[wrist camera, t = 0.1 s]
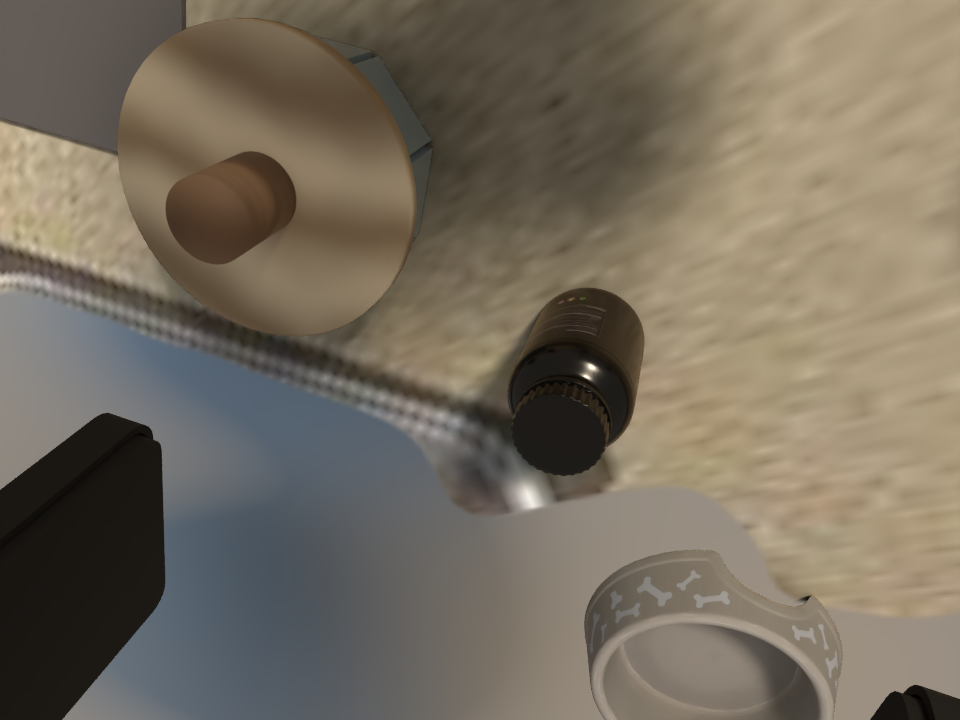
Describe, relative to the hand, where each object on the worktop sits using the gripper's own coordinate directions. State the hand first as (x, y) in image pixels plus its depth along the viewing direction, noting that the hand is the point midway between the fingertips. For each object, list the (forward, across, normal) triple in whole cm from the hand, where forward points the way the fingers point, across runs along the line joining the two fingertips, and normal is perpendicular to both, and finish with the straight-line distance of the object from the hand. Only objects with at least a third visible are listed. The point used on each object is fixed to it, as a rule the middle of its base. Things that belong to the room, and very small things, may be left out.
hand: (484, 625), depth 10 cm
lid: (+31, +19, +8) cm, 37 cm away
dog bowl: (+37, -15, +36) cm, 54 cm away
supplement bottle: (+37, 0, +14) cm, 40 cm away
